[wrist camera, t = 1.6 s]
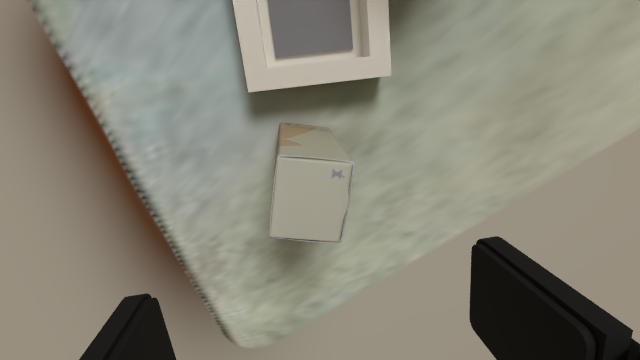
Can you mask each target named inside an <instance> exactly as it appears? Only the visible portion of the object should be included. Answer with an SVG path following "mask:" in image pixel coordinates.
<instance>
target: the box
mask: <svg viewBox="0 0 640 360" xmlns="http://www.w3.org/2000/svg"><path fill="white" fill-rule="evenodd" d="M354 168H355V162H354V161H353V160H352V158H351V157H350V156H349V155H348V153H347V152H346V151H345V149H344V148H343V147H342V146H341V144H340V143H339V142H338V140H337V139H336V138H335V137H334V135H333V134H332V133H331V131H330V130H329V129H328V128H322V127H316V126H308V125H300V124H290V123H280V125H279V134H278V143H277V152H276V162H275V173H274V183H273V192H272V203H271V215H270V228H269V237H271V238H276V239H286V240H295V241H306V242H317V243H330V244H340V243H341V242H342V239H343V235H344V229H345V224H346V219H347V213H348V207H349V201H350V194H351V188H352V181H353V175H354Z"/></svg>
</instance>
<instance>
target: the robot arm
mask: <svg viewBox="0 0 640 360" xmlns="http://www.w3.org/2000/svg"><path fill="white" fill-rule="evenodd" d="M470 288H471V289H470V323H471V326H472V328H473V330H474V331H475V332H476V334H477V335H478V336H479V337H480V339H481V340H482V341H483V343H484V344H485V345H486V347H487V348H488V349H489V350H490V352H491V353H492V354H493V355H494V357H495V358H496V359H497V360H640V344H639V343H637V342H636V341H635V340H633V339H632V338H631V337H632V332H633V330H631V329H630V328H629V327H627V326H626V325H624V324H623V323H622V322H620V321H619V320H617V319H616V318H615V317H613V316H612V315H610V314H609V313H607V312H606V311H605V310H603V309H602V308H600V307H599V306H597V305H596V304H594V303H593V302H592V301H590V300H589V299H587V298H586V297H585V296H583V295H582V294H580V293H579V292H578V291H576V290H575V289H573V288H572V287H570V286H569V285H567V284H566V283H565V282H563V281H562V280H560V279H559V278H558V277H556V276H555V275H553V274H552V273H550V272H549V271H548V270H546V269H545V268H543V267H542V266H541V265H539V264H538V263H536V262H535V261H533V260H532V259H531V258H529V257H528V256H526V255H525V254H523V253H522V252H521V251H519V250H518V249H516V248H515V247H513V246H512V245H510V244H509V243H508V242H506V241H505V240H503V239H502V238H500V237H490V238H484V239H479V240H478V241H477V243H476V245H474V246H473V247H472V255H471V287H470ZM79 360H176V357H175V354H174V351H173V348H172V345H171V341H170V338H169V335H168V331H167V328H166V325H165V322H164V318H163V315H162V312H161V309H160V305H159V302H158V300H157V299H156V298H151V296H150V295H149V294H141V295H134V296H128V297H125V298H124V299H123V300H122V301H121V303H120V304H119V305H118V307H117V308H116V310H115V311H114V312H113V314H112V315H111V316H110V318H109V319H108V321H107V322H106V323H105V325H104V326H103V327H102V329H101V330H100V332H99V333H98V334H97V336H96V337H95V339H94V340H93V341H92V343H91V344H90V346H89V347H88V348H87V350H86V351H85V352H84V354H83V355H82V357H81V358H80V359H79Z"/></svg>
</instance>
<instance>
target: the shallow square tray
mask: <svg viewBox="0 0 640 360" xmlns="http://www.w3.org/2000/svg"><path fill="white" fill-rule="evenodd" d="M233 6H234V12H235V18H236V24H237V29H238V35H239V41H240V47H241V53H242V59H243V64H244V70H245V76H246V82H247V88H248V92H257V91H265V90H274V89H282V88H291V87H299V86H308V85H316V84H324V83H333V82H341V81H350V80H358V79H367V78H375V77H384V76H391V55H390V31H389V7H388V0H233Z"/></svg>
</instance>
